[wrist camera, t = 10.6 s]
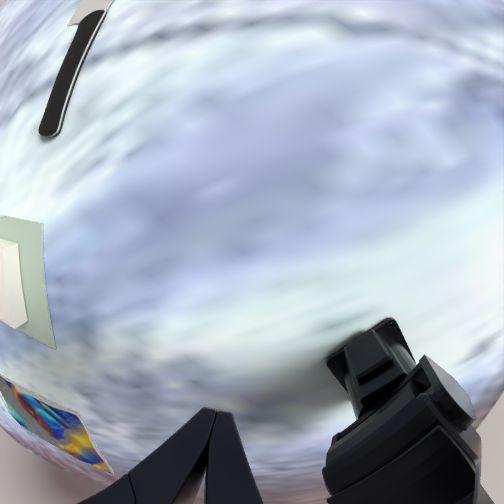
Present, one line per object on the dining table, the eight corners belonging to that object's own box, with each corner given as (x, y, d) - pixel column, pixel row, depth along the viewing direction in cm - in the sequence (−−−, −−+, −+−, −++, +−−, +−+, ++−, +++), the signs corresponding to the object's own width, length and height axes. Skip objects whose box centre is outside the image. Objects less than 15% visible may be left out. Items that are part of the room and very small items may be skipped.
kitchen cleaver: (126, -69, 10) (190, -87, 9) (131, -63, 12) (195, -79, 11) (11, 132, 18) (57, 137, 17) (23, 133, 19) (70, 139, 18)
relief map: (23, 423, 32) (18, 428, 30) (-9, 365, 28) (-15, 370, 26) (115, 468, 30) (111, 476, 28) (80, 409, 26) (73, 418, 24)
